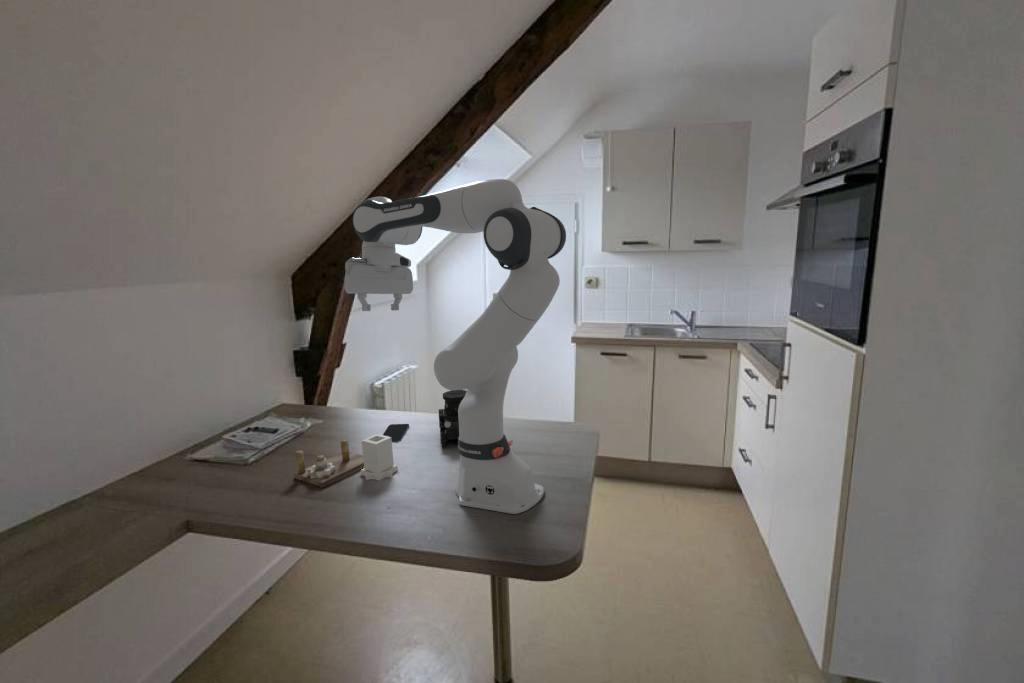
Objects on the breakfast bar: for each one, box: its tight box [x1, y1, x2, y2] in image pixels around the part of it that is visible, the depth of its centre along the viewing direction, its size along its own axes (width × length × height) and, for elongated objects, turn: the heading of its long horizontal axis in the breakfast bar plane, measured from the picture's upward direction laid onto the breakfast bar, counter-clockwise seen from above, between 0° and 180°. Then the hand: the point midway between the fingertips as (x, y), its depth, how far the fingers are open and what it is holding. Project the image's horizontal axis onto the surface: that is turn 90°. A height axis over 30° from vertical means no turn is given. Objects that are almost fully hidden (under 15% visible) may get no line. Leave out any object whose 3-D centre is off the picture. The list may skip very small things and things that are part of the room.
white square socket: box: [360, 433, 399, 481], centre depth 137 cm, size 10×10×10 cm
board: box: [293, 438, 364, 489], centre depth 140 cm, size 12×18×8 cm
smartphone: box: [382, 423, 410, 443], centre depth 168 cm, size 7×1×15 cm
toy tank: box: [438, 389, 467, 447], centre depth 161 cm, size 12×18×15 cm
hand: (381, 310), depth 135 cm, fingers open, 8 cm apart
